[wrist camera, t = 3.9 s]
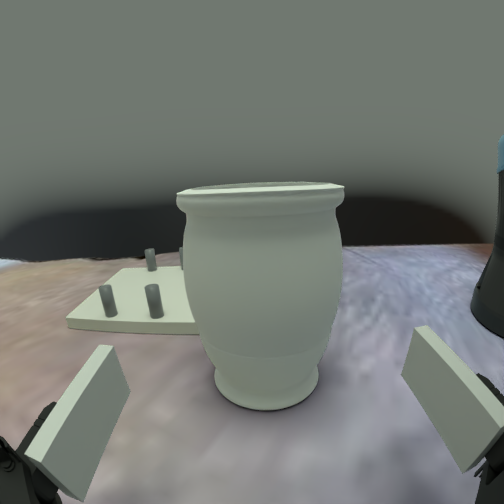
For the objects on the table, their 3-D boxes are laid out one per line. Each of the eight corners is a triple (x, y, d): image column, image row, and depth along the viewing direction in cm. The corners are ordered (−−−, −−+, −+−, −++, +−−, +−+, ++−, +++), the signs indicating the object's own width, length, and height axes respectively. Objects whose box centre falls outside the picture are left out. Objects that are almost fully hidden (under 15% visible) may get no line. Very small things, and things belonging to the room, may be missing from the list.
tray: (227, 272, 46) (225, 243, 45) (214, 334, 28) (209, 290, 27) (124, 276, 46) (119, 249, 45) (68, 328, 28) (57, 291, 27)
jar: (348, 360, 22) (362, 182, 18) (290, 445, 14) (297, 188, 10) (251, 331, 28) (242, 182, 24) (176, 384, 20) (142, 194, 16)
